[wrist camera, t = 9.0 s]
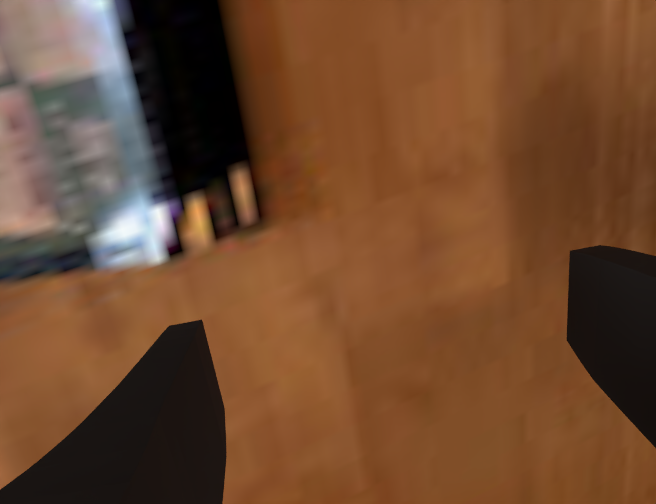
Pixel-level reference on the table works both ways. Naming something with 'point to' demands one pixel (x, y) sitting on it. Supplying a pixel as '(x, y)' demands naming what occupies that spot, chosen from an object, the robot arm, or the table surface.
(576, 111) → the table surface
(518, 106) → the table surface
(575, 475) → the table surface
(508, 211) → the table surface
